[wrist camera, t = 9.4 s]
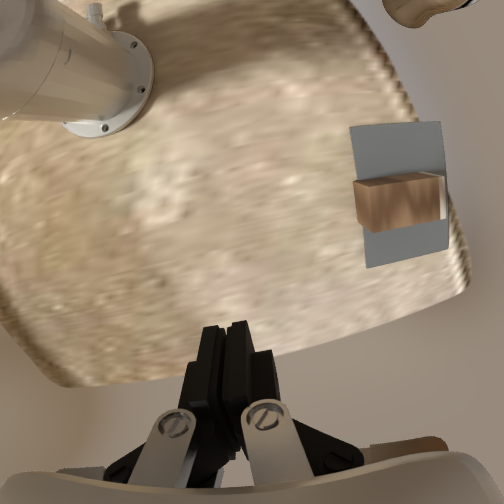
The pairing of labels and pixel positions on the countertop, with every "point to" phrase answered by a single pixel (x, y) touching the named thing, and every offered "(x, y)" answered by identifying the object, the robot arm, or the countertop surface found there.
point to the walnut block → (400, 200)
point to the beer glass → (420, 10)
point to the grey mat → (395, 163)
